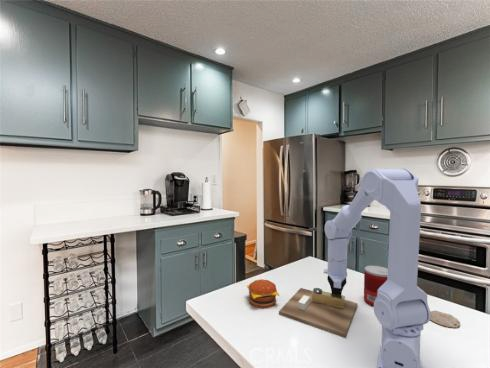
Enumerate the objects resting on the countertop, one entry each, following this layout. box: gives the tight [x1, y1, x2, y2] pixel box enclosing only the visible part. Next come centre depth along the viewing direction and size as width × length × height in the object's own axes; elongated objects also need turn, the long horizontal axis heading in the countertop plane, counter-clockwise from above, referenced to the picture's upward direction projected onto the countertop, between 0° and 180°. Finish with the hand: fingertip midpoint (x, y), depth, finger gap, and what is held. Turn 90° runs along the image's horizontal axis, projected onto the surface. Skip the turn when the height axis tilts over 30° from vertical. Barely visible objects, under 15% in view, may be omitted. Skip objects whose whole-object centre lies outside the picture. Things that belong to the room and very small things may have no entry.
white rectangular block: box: [298, 295, 310, 310], centre depth 77 cm, size 5×2×2 cm, turn 146°
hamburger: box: [246, 279, 280, 309], centre depth 82 cm, size 9×10×7 cm
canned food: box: [363, 265, 388, 308], centre depth 81 cm, size 8×8×11 cm
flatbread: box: [430, 310, 461, 329], centre depth 72 cm, size 8×8×1 cm
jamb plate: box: [278, 287, 359, 338], centre depth 77 cm, size 18×19×1 cm
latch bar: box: [312, 287, 346, 309], centre depth 79 cm, size 10×3×4 cm, turn 62°
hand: (336, 299), depth 79 cm, fingers closed, pressing on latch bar
